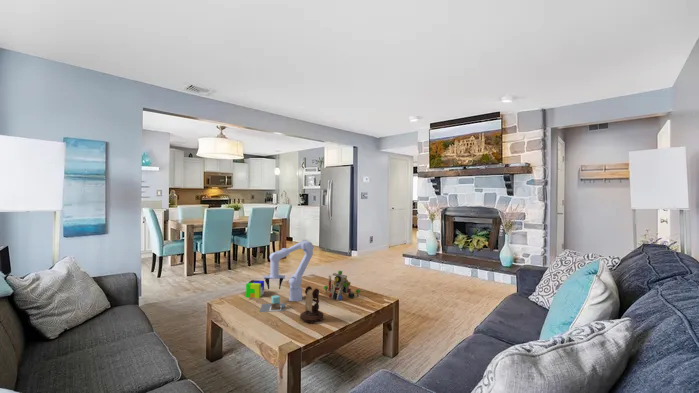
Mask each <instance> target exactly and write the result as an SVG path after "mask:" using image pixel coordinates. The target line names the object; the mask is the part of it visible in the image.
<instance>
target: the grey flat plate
mask: <svg viewBox="0 0 699 393" xmlns="http://www.w3.org/2000/svg"><path fill="white" fill-rule="evenodd" d="M271 305H272V303H262V304H261V307H260V309H259V313H265V312H266V313H267V312H271V313H273V312H284V311H285V308H286V303H285V302H280V308H279V310H271Z"/></svg>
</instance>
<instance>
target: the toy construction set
mask: <svg viewBox="0 0 699 393" xmlns="http://www.w3.org/2000/svg"><path fill="white" fill-rule="evenodd" d="M332 276H334V281H333V283H332ZM349 286H351V281H349V280H348V275H346V274H345V275H344V274H343V270H338V271H337V272H336V273H335V272H334V273H332V275H328V286H327V285H324V286H323V289H324V293H325V294H327V293H328V292H327V290H328V291H329V296H328V297H329V298H331V299H333V300H335V301H342V300H343V295H342V293H343V294H345V293H346V294H347V297H348V298H349V297H350V298H349V299H354V298H355V296H356V297H359V296H360V293H361V289H359V288H357V289H356V290H355V292H356V295H355V293H353V290H352V289H351V288H349Z"/></svg>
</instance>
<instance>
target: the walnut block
mask: <svg viewBox="0 0 699 393" xmlns="http://www.w3.org/2000/svg"><path fill="white" fill-rule="evenodd" d="M280 303H281V302H280ZM280 303H276V304H273V303H272V302H271V304H272V305H271V310H279V308H280Z"/></svg>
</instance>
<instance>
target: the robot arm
mask: <svg viewBox="0 0 699 393" xmlns="http://www.w3.org/2000/svg"><path fill="white" fill-rule="evenodd" d="M299 249H301V250H303V253H304V255H303V257H302V259H301V261H300V262H299V265H298V267H297V269H296V271H295V273H294V274H292V276H291V277H290V278H289V279H288V284H289V298H288V302H297V301H301V302H302V301H303V287H301V285H302V281H303V275H304V272H305V271H306V269H307V268H308V267H307V266H308V265H309V263H310V261H311V259H312V257H313V254H314V251H313V250H314V245H313V243H312V242H310V241H308V240H302V241H299V242H297V243H295V244H293V245H292V246H290V247H288V248H287V247H283V248H281V249H280V250H277V251H275V252H272V253H270V255H269V257H268V258H269V260H270V265H269V266H270V271H269V272H270V274H269V275H263V280H265V281H264V283H266V286H267V289H268V290H270V279H271V280H276V279H277V280H278V281H279V282H278V283H279V284H278V285H279V286H278V288H279V289H278V290H280V289H281V286H282V283H283V282H284V279H286V275H283V274H282V275H281V274H280V272H279V268H280V263H279V262H280V260H281V259H283V258H286V257H287V256H289V254H290V253H292V252H295V251H297V250H299Z"/></svg>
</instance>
